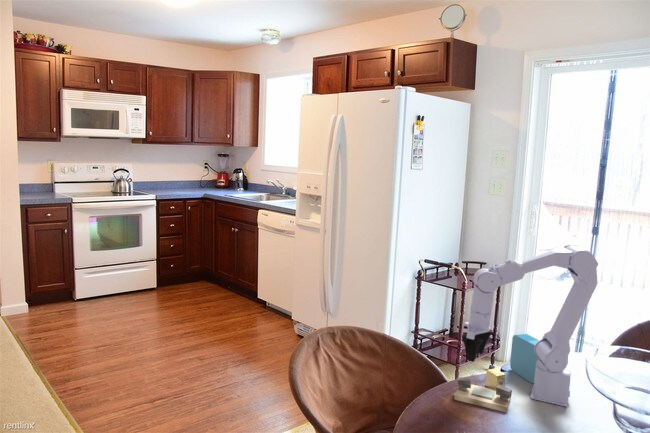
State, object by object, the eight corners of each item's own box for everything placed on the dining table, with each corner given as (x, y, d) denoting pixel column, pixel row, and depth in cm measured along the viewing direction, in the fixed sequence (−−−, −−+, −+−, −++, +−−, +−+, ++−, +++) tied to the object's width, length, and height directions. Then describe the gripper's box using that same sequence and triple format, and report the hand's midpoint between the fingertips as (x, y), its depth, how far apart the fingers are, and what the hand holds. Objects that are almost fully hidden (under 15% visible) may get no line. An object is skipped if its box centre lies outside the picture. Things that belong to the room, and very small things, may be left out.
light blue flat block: (547, 384, 154) (551, 346, 153) (534, 385, 153) (538, 347, 151) (520, 367, 166) (524, 332, 164) (509, 369, 164) (512, 333, 163)
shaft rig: (512, 398, 144) (513, 383, 143) (508, 412, 136) (509, 396, 135) (459, 386, 150) (460, 371, 150) (452, 399, 142) (453, 383, 142)
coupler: (504, 391, 149) (506, 374, 148) (496, 392, 147) (498, 376, 147) (492, 383, 153) (493, 367, 152) (484, 385, 152) (486, 369, 151)
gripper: (475, 302, 153) (468, 345, 154) (458, 312, 141) (452, 359, 142) (498, 308, 149) (492, 352, 151) (484, 319, 137) (477, 367, 139)
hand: (474, 356), depth 146 cm, fingers open, 7 cm apart
